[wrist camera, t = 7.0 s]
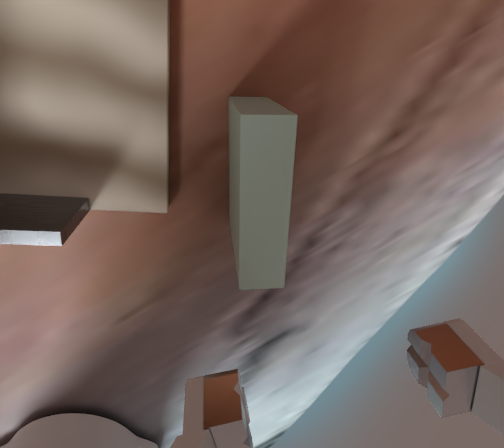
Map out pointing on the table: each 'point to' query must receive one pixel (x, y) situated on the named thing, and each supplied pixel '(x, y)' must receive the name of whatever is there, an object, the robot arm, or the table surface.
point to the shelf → (81, 113)
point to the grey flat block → (260, 189)
